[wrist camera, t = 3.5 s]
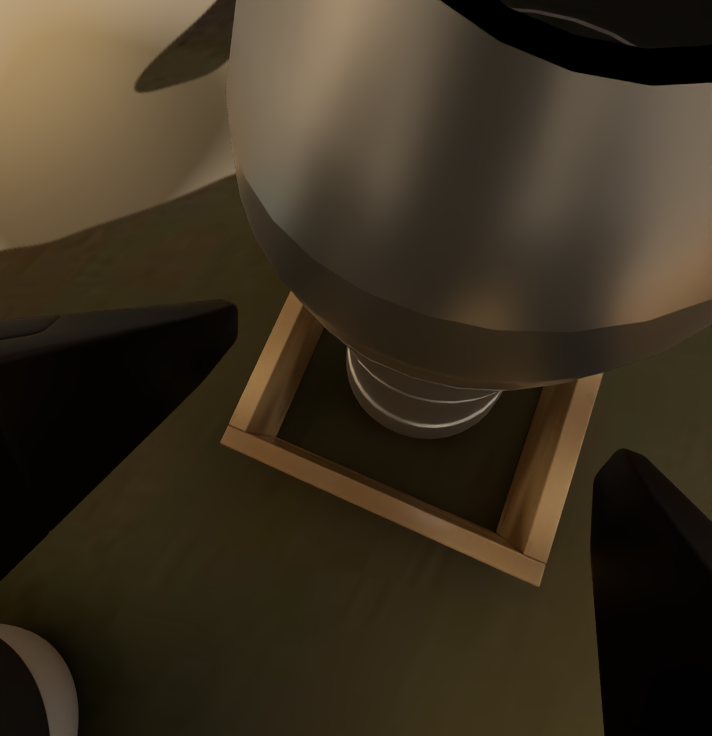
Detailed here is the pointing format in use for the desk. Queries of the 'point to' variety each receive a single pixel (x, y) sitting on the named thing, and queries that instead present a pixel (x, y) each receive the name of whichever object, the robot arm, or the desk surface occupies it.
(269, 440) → the square wooden frame
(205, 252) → the desk surface
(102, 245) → the desk surface
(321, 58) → the metal cup
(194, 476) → the desk surface
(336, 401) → the desk surface
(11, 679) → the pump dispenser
